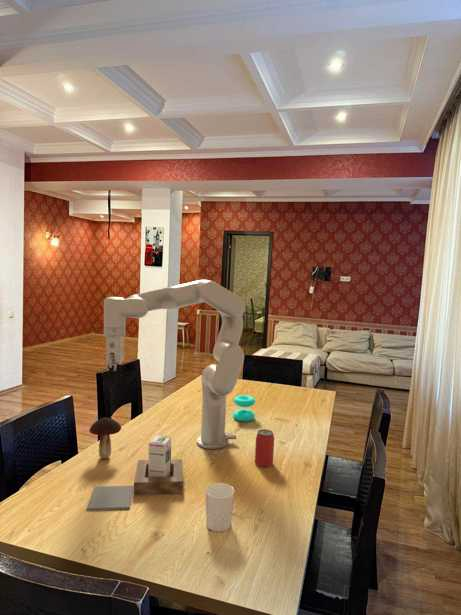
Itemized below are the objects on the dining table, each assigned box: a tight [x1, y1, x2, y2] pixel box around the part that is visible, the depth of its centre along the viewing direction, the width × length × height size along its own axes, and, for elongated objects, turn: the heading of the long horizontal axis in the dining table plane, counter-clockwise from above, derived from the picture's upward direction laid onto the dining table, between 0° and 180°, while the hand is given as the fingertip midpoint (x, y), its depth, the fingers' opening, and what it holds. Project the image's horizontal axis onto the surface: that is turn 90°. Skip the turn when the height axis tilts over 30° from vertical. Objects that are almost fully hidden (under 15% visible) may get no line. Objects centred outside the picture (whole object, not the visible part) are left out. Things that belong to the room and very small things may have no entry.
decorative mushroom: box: [89, 416, 122, 460], centre depth 154 cm, size 11×11×15 cm
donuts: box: [232, 394, 256, 422], centre depth 200 cm, size 10×10×10 cm
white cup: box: [205, 482, 235, 533], centre depth 118 cm, size 8×8×10 cm
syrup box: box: [147, 435, 172, 477], centre depth 139 cm, size 6×6×14 cm
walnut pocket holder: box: [133, 458, 184, 496], centre depth 140 cm, size 15×15×4 cm
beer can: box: [254, 428, 275, 469], centre depth 155 cm, size 7×7×12 cm
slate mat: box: [86, 485, 134, 511], centre depth 129 cm, size 12×12×1 cm
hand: (114, 378), depth 155 cm, fingers open, 9 cm apart
